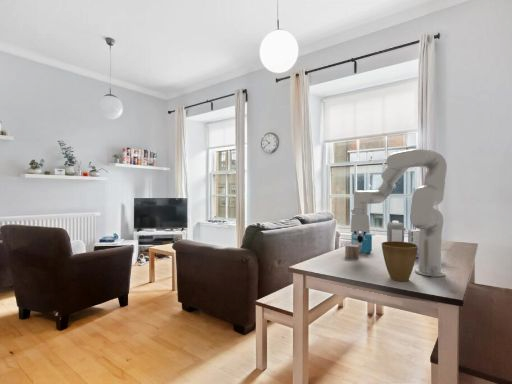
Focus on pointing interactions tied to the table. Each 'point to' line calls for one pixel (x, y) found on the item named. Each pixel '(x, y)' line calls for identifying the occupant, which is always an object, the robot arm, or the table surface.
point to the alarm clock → (395, 231)
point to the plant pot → (399, 259)
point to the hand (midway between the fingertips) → (360, 242)
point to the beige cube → (352, 251)
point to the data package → (366, 244)
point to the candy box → (414, 239)
